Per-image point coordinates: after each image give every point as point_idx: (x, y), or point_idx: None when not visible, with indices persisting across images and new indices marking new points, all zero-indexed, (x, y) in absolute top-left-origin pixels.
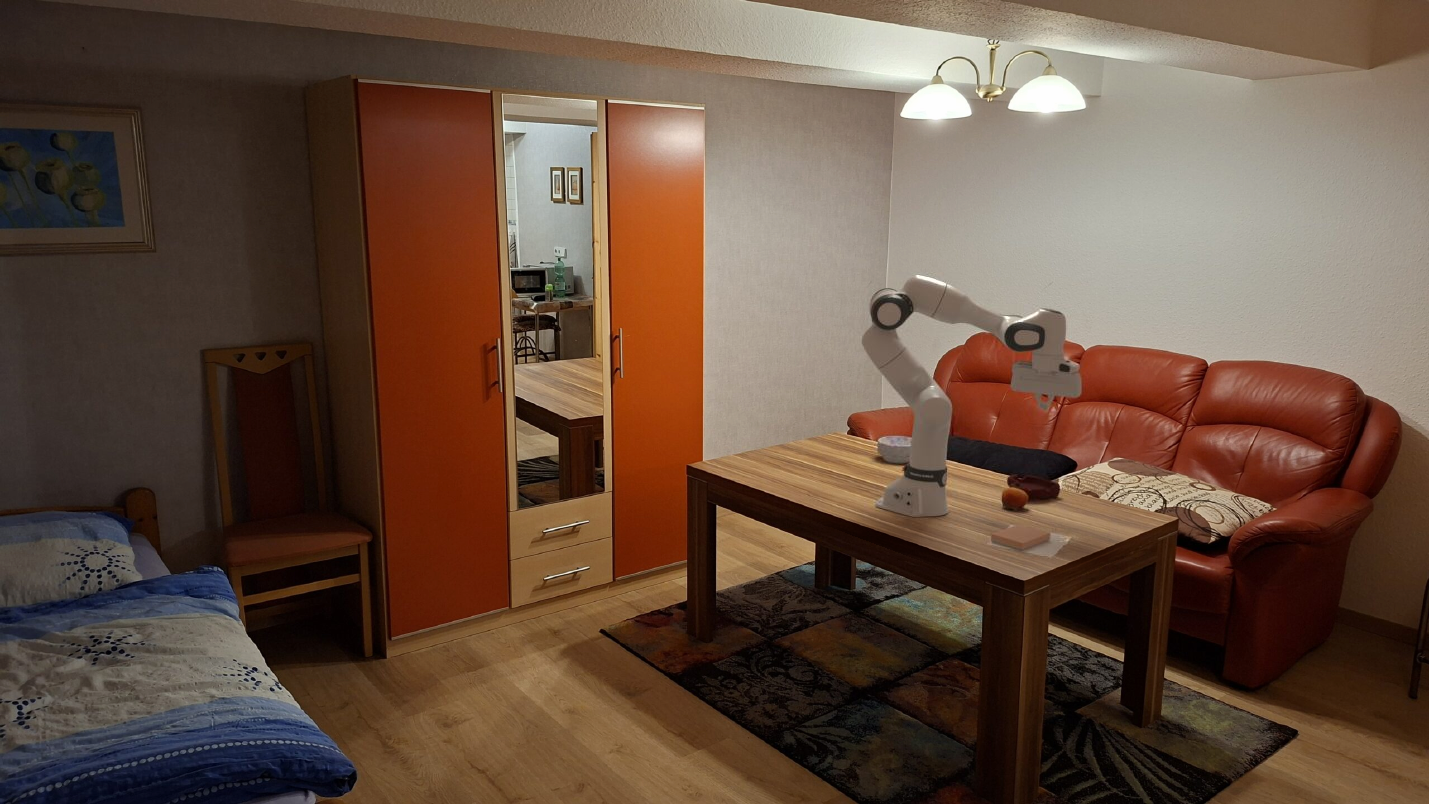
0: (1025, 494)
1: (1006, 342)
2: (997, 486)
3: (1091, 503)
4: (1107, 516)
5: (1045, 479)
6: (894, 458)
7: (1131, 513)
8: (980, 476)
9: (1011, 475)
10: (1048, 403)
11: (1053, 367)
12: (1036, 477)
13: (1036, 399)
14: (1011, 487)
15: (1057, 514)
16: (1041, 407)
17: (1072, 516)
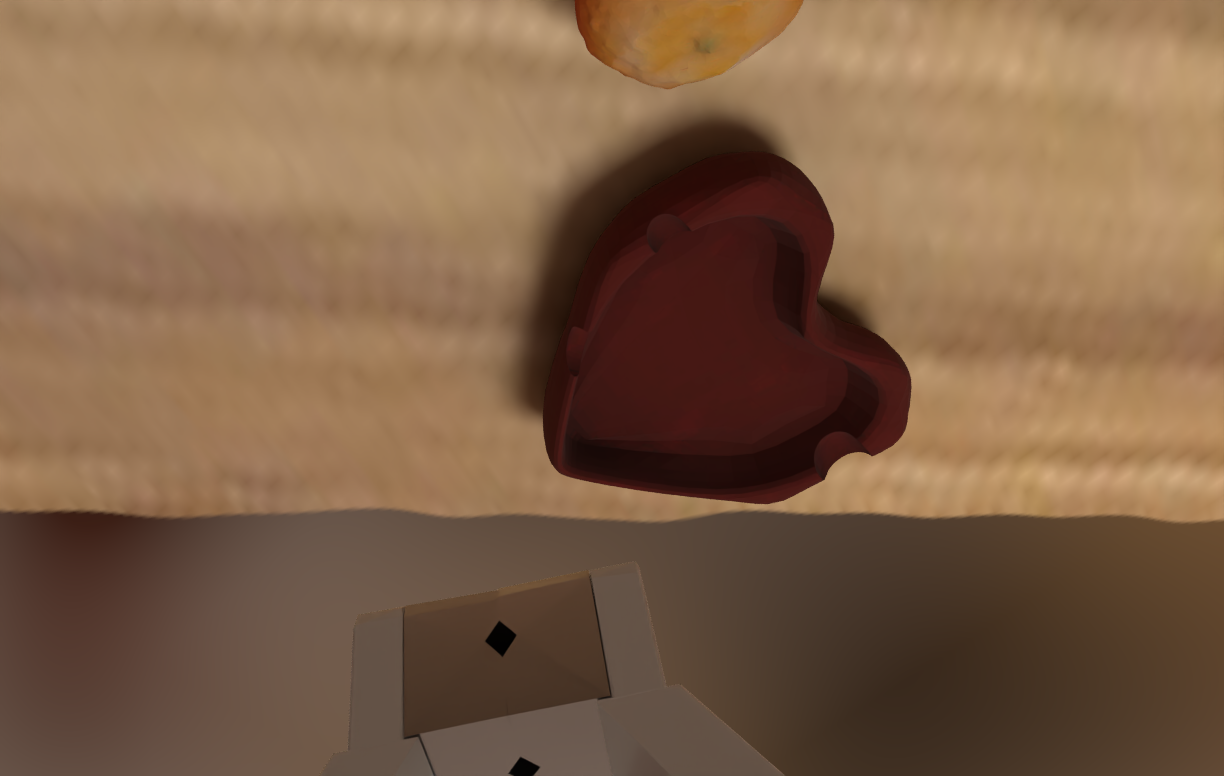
0: (597, 3)
1: None
2: (952, 343)
3: (334, 450)
4: (82, 290)
5: (678, 494)
6: None
7: (37, 450)
8: (1099, 438)
9: (898, 418)
10: (339, 767)
11: None
12: (744, 492)
13: (763, 757)
14: (743, 5)
15: (344, 69)
16: (542, 596)
17: (238, 108)
